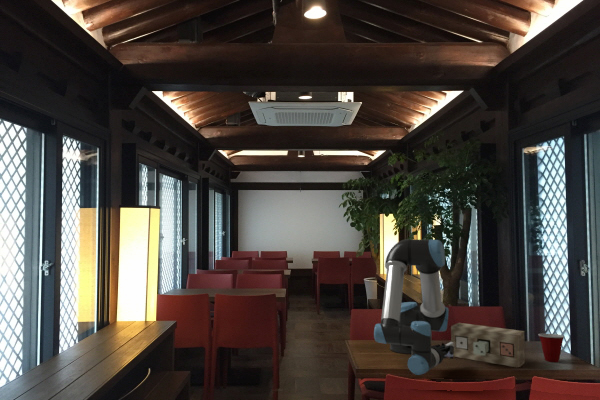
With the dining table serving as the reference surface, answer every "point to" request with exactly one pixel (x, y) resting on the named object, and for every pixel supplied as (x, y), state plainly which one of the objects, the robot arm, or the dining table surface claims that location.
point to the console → (490, 343)
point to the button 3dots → (507, 349)
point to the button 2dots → (481, 347)
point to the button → (462, 342)
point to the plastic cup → (551, 346)
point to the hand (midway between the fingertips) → (451, 345)
